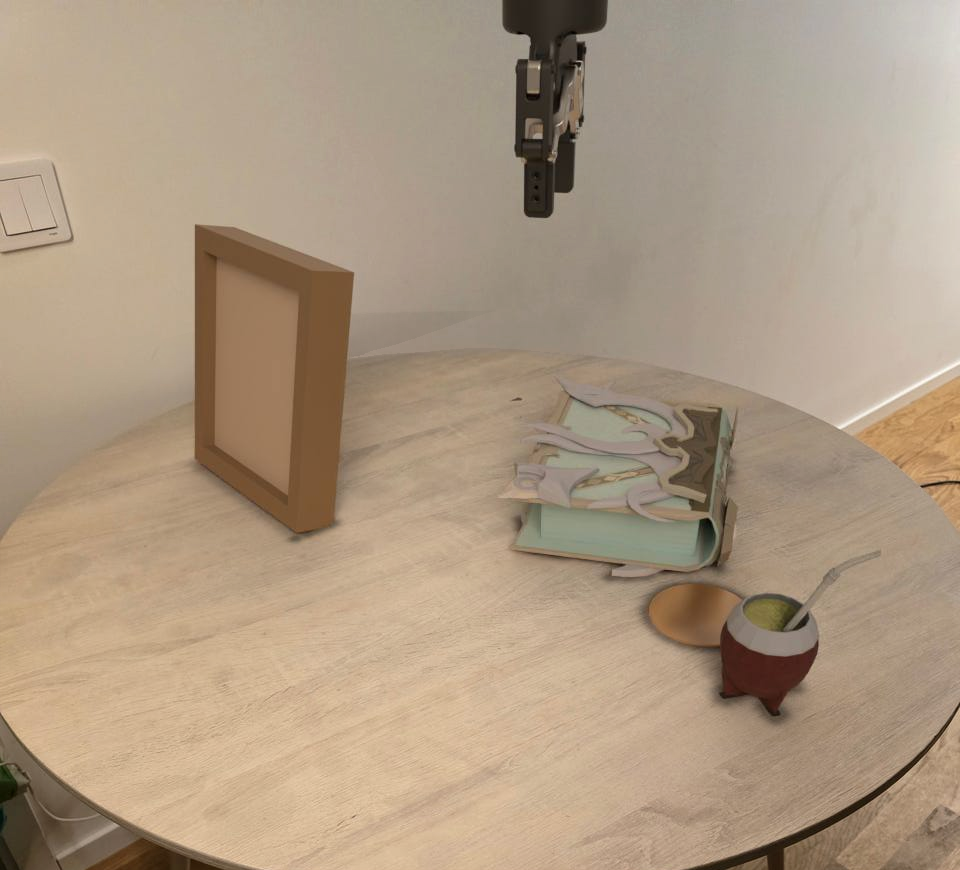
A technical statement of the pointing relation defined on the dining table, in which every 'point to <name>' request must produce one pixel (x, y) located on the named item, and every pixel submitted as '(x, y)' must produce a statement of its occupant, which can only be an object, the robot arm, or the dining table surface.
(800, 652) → the mate gourd
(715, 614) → the shallow brown plate
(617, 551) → the ornate book
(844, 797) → the dining table surface
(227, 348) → the photo frame
